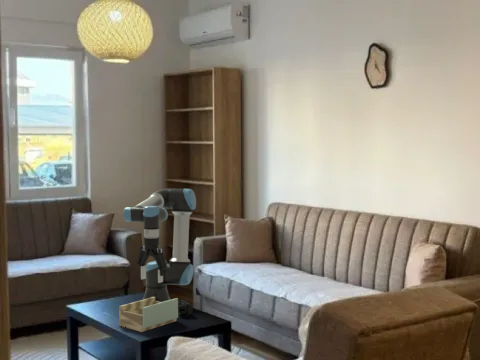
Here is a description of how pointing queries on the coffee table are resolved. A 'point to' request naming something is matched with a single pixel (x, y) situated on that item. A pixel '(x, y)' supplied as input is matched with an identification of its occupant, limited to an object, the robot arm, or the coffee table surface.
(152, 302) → the wooden tray box
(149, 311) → the panel
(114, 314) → the coffee table surface
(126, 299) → the coffee table surface
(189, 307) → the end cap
